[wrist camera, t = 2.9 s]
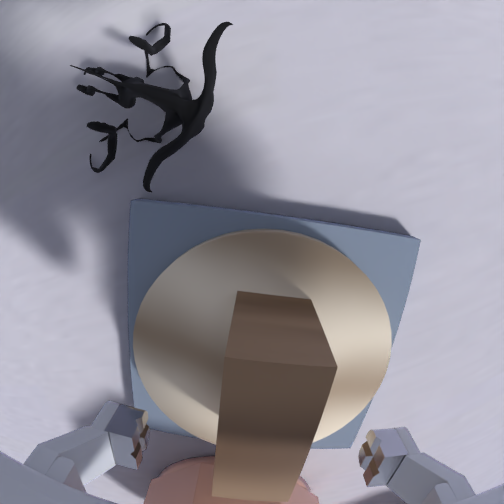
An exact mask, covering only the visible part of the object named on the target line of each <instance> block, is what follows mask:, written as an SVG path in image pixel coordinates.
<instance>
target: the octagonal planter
mask: <svg viewBox="0 0 504 504" xmlns="http://www.w3.org/2000/svg"><path fill="white" fill-rule="evenodd" d="M214 462H215V456H206V457H197V458H191V459H186V460H183V461H179V462H176V463H174V464H172V465H170V466H168V467H167V468H165V469H164V470H163V471H162V472H161V473H160V475H159V477H158V478H155V479H151V482H150V485H149V488H148V491H147V494H146V498H145V501H144V504H319V502H318V497H317V496H315V495H314V494H312V493H311V492H310V488H309V486H308V484H307V483H306V481H305V480H304V479H303V478H302V477H300V476H299V478H298V480H297V483H296V485H295V487H294V490H293V492H292V494H291V496H290V499H289V501H288V502H273V501H254V500H242V499H231V498H222V497H215V496H212V486H213V474H214Z"/></svg>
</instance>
